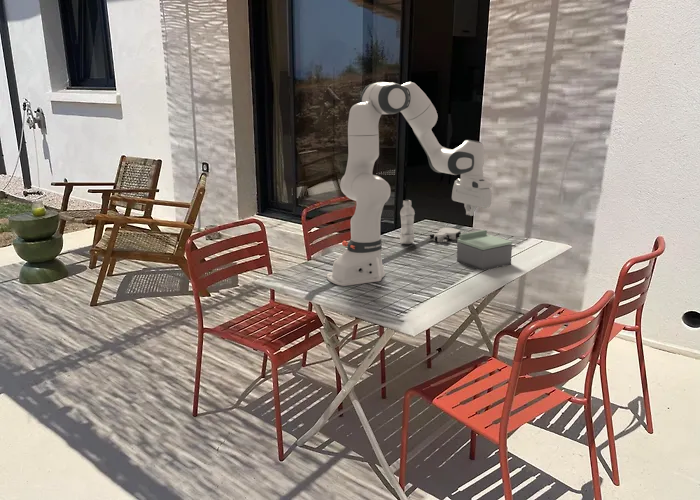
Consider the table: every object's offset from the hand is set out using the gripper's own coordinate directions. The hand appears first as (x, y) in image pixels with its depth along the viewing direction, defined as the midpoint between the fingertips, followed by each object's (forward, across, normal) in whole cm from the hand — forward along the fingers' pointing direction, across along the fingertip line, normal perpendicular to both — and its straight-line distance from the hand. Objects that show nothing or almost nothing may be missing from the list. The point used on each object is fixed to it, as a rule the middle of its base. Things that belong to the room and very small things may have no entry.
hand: (469, 215), depth 227 cm
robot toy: (+18, -28, +10) cm, 35 cm away
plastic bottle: (+18, -32, -8) cm, 38 cm away
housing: (+18, +9, +1) cm, 20 cm away
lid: (+10, +9, +1) cm, 13 cm away
